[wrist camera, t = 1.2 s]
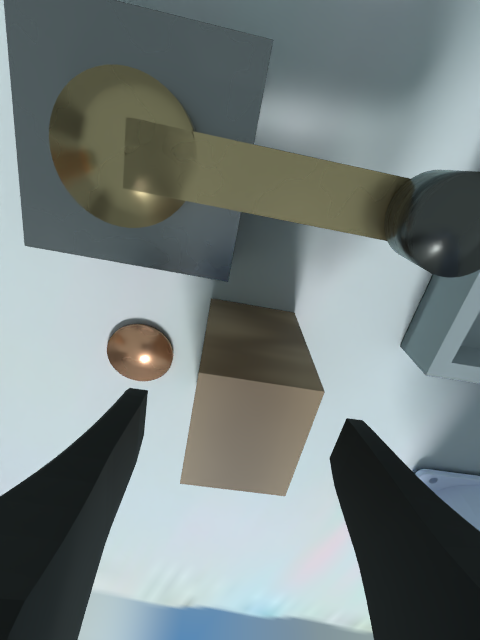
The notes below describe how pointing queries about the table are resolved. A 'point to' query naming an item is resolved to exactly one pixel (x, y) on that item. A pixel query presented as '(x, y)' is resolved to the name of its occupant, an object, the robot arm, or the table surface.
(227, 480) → the block
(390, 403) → the table surface
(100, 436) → the robot arm
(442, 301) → the tray
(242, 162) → the crank
